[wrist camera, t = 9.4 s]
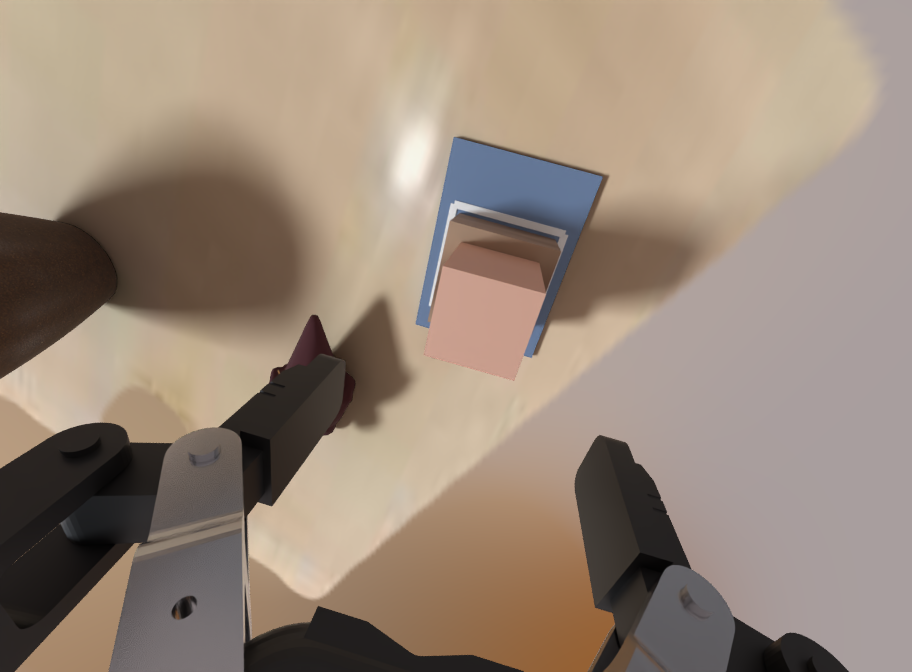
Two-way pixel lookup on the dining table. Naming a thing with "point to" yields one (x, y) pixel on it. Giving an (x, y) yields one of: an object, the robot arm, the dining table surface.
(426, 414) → the dining table surface
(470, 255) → the terracotta block
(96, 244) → the plant pot
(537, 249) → the walnut base
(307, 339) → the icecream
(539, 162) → the blueprint mat
